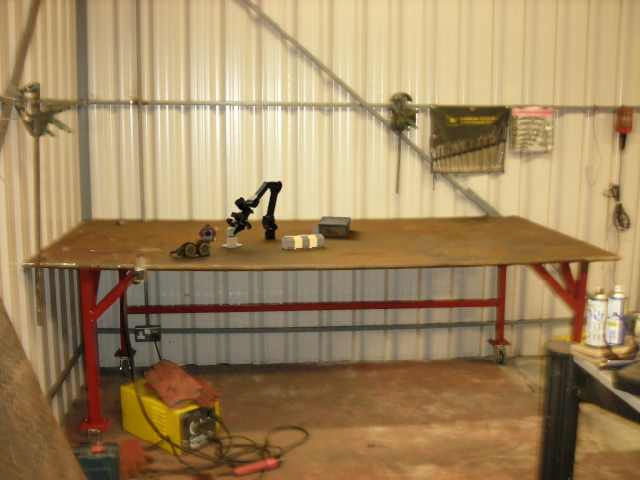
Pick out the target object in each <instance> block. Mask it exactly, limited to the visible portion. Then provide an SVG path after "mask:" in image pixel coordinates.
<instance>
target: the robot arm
mask: <svg viewBox="0 0 640 480" xmlns="http://www.w3.org/2000/svg"><path fill="white" fill-rule="evenodd" d="M282 188H283V183H282V181H281V180H271V181H269V180H264V181H263V182H262V184H261V186H260V187H259V188H258V189H257V190H256V191H255V193H254V194H253V195H250V196H249V197H248V198H247V199H246V200H245V198H244V197H243V196H240V197H239V198H237V199H236V200H235V201H234V205H235V206H236V208H238V210H239V212H234V211H232V212H231V213H230V217H228V218H226V220H225V222H226V223H227V224H228V226H229V227H236V229H235V231H234V233H233V235H235V234H237V235H238V233H240V232H242V231H245V230H246V229H247V230H251V229H252V226H253V225H252V224H251V222H250V221H249V217H250V215H251V214H252V215H254V214H255V212H254V209H256V208H258V207H259V205H260V202H261V201H260V200H261V199H262V197H263V196H264V195H265V194H266V193H267V191H268V190H269V192H270V194H269V200H268V204H267V210H266V214H265V215H263V216H262V220H261V225H262V228H263V230H264V238H265V240H276V231H277V230H278V229H279V227H278V225H277V224H276V218H275V211H276V207H277V202H278V197H279V194H280V192H282Z"/></svg>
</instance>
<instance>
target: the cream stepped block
mask: <svg viewBox="0 0 640 480" xmlns="http://www.w3.org/2000/svg"><path fill="white" fill-rule="evenodd" d="M238 240H239V239H238V235H236V236H231V237H228V236H226V243H225V244H222V245H221V247H222V248H228V249H234V248H238V247H243V244H242V243H238Z"/></svg>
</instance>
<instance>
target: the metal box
mask: <svg viewBox="0 0 640 480" xmlns="http://www.w3.org/2000/svg"><path fill="white" fill-rule="evenodd" d="M350 223H351V217H350V216H347V217H346V216H332V215H331V216H322V217H321V218H320V219H319V221H318V222H317V225H318V226H317V228H319V229H318V231H319V232H317V233H318V234H322V235H323V237H325V238H329V239H335V238H336V239H348V236H349V233H350V230H351V229H350V227H351V224H350ZM325 238H324V239H325Z"/></svg>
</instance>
